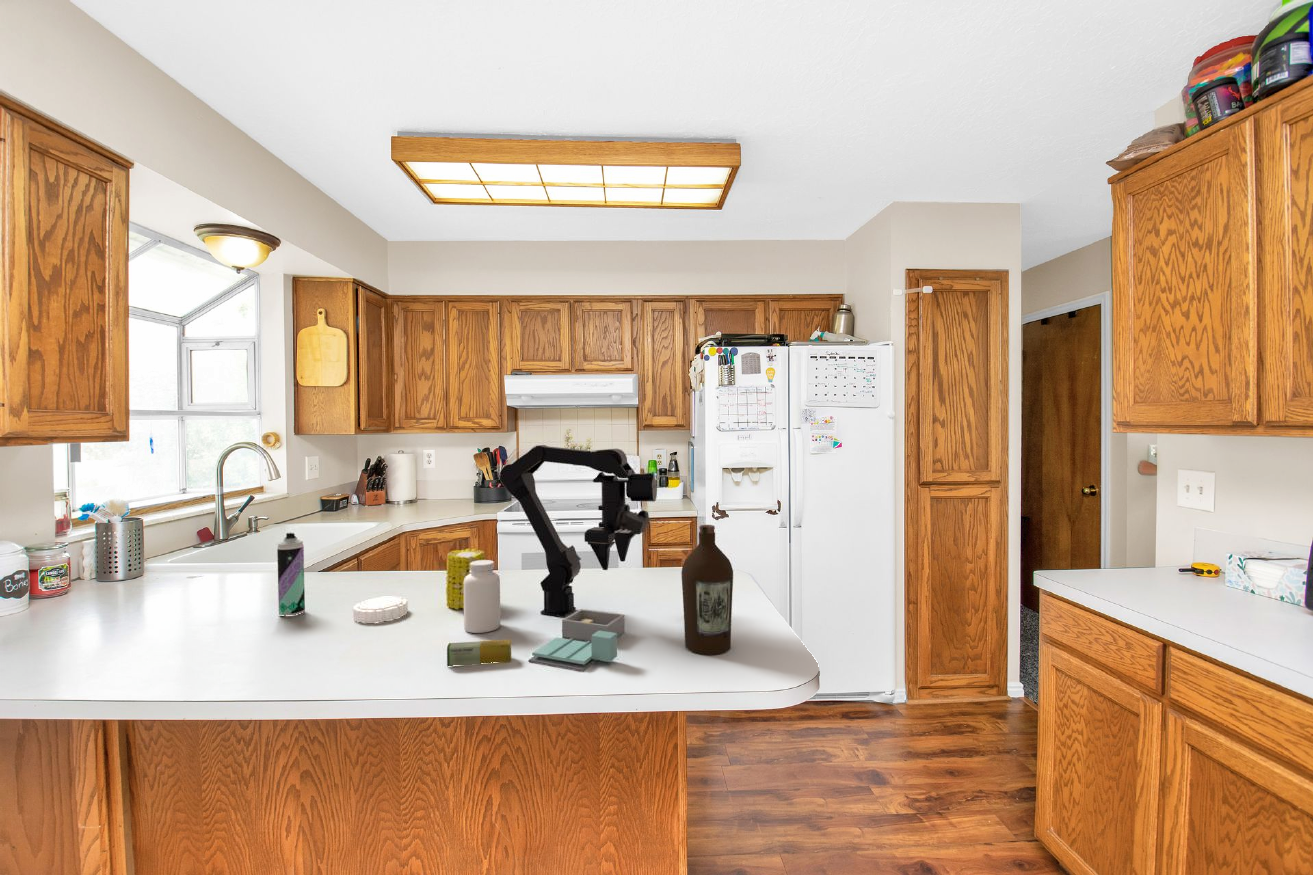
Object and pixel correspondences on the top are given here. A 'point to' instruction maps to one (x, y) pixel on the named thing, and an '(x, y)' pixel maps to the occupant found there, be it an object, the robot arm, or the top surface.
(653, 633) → the top surface
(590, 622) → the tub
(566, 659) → the lid
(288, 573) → the spray can
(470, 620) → the pill bottle
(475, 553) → the food
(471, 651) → the medication box
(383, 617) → the mooncake
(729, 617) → the olive oil
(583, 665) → the mat
